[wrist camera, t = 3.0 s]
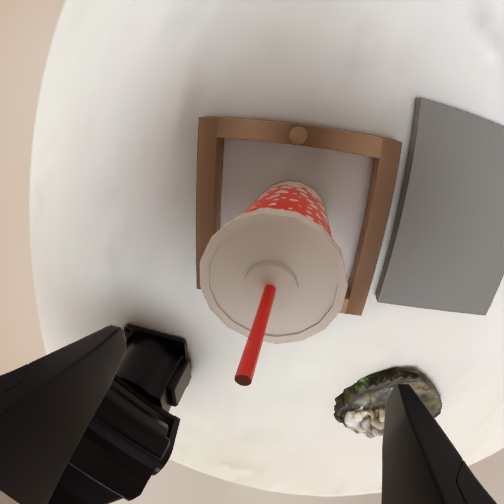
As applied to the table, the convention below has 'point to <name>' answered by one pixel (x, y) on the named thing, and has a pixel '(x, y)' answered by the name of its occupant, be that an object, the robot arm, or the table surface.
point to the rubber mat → (448, 215)
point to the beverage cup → (274, 271)
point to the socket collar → (305, 135)
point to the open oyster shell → (380, 399)
